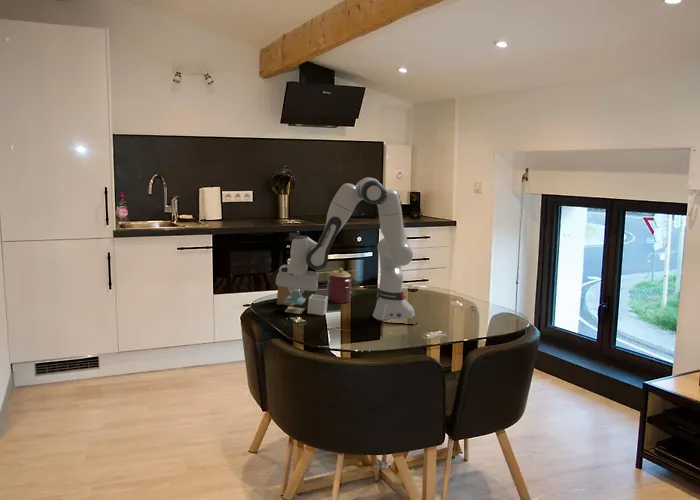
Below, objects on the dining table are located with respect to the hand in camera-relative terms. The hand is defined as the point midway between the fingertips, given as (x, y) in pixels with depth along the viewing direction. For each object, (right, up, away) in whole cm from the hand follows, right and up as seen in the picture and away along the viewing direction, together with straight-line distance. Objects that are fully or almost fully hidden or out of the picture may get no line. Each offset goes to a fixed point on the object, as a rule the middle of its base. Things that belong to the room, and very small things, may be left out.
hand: (295, 297), depth 306 cm
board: (-1, -7, +2) cm, 7 cm away
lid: (0, -2, 0) cm, 2 cm away
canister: (+20, -4, +30) cm, 36 cm away
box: (+10, -8, +3) cm, 13 cm away
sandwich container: (-4, -4, +17) cm, 18 cm away
